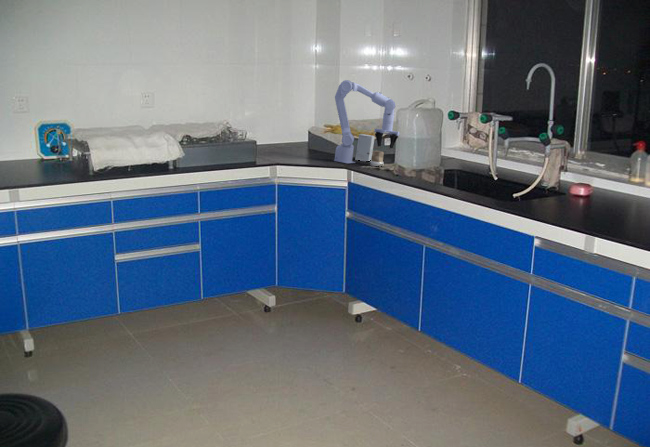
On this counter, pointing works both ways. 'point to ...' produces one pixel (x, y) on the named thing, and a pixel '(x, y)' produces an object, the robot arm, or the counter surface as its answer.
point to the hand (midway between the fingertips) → (385, 147)
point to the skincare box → (364, 147)
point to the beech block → (377, 156)
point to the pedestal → (376, 163)
